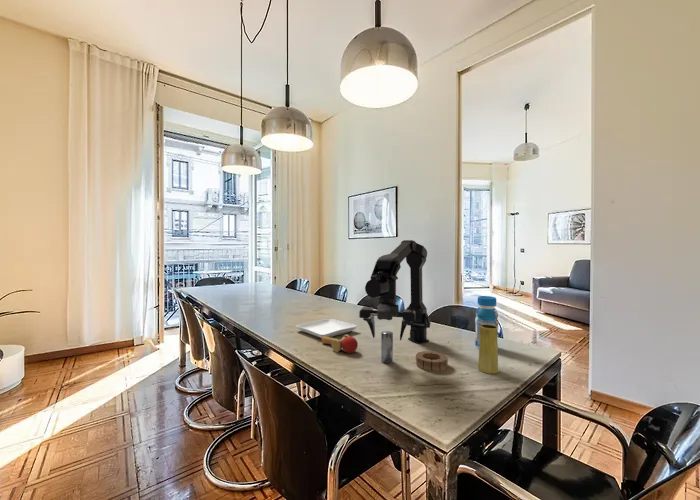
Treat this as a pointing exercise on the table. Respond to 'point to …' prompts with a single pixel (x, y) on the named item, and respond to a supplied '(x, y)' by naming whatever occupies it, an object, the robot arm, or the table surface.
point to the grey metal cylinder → (387, 347)
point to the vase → (488, 349)
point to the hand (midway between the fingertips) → (387, 338)
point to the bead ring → (431, 361)
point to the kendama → (342, 343)
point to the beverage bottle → (485, 314)
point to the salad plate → (326, 327)
